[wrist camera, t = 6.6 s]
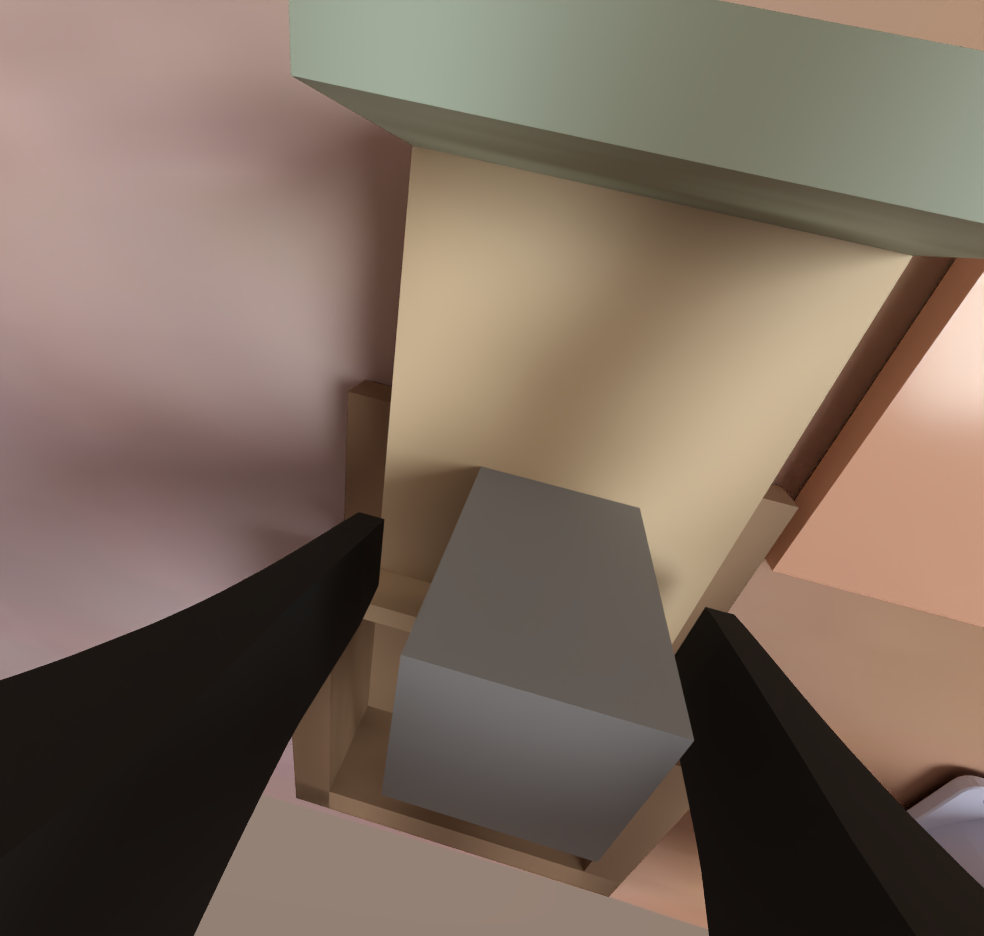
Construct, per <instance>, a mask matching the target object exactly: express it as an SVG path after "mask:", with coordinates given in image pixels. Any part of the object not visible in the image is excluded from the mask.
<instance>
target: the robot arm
mask: <svg viewBox="0 0 984 936" xmlns="http://www.w3.org/2000/svg"><path fill="white" fill-rule="evenodd" d="M384 520H385V519H382V518H379V517H375V516H371V515H368V514H364V513H361V512H358V513H356V514H355V515H353V516H351V517H349V518H348V519H346V520H345V521H343V522H341V523H340V524H338V525H337V526H335V527H333V528H332V529H330V530H329V531H327V532H325V533H324V534H322V535H321V536H319V537H317V538H316V539H314V540H312V541H311V542H309V543H308V544H306V545H304V546H303V547H301V548H299V549H298V550H296V551H294V552H292V553H291V554H289V555H287V556H286V557H284V558H282V559H281V560H279V561H277V562H275V563H274V564H272V565H270V566H268V567H267V568H265V569H263V570H261V571H259V572H257V573H256V574H254V575H252V576H250V577H248V578H246V579H244V580H243V581H241V582H239V583H237V584H235V585H233V586H231V587H229V588H228V589H226V590H224V591H222V592H220V593H218V594H216V595H214V596H212V597H210V598H208V599H206V600H204V601H202V602H199V603H197V604H195V605H193V606H191V607H189V608H187V609H184V610H182V611H180V612H178V613H176V614H173V615H171V616H169V617H167V618H164V619H162V620H160V621H158V622H155V623H153V624H151V625H148V626H146V627H143V628H141V629H138V630H136V631H133V632H131V633H128V634H126V635H123V636H120V637H118V638H115V639H113V640H110V641H108V642H105V643H103V644H100V645H97V646H95V647H92V648H90V649H87V650H85V651H82V652H80V653H77V654H75V655H72V656H69V657H66V658H64V659H61V660H58V661H55V662H52V663H50V664H47V665H44V666H41V667H38V668H35V669H32V670H30V671H27V672H24V673H21V674H18V675H15V676H12V677H9V678H6V679H3V680H0V936H194V934H195V932H196V930H197V928H198V925H199V923H200V921H201V919H202V917H203V914H204V913H205V911H206V909H207V906H208V904H209V902H210V900H211V898H212V896H213V893H214V892H215V890H216V887H217V885H218V883H219V881H220V879H221V877H222V875H223V873H224V871H225V869H226V866H227V864H228V862H229V860H230V858H231V856H232V854H233V852H234V850H235V848H236V846H237V844H238V842H239V840H240V838H241V835H242V834H243V831H244V829H245V827H246V825H247V823H248V821H249V819H250V817H251V815H252V813H253V811H254V809H255V807H256V805H257V803H258V801H259V799H260V797H261V795H262V793H263V791H264V789H265V787H266V785H267V783H268V781H269V779H270V777H271V775H272V773H273V772H274V770H275V768H276V766H277V764H278V762H279V760H280V758H281V756H282V754H283V752H284V750H285V748H286V746H287V744H288V742H289V741H290V739H291V737H292V735H293V734H294V732H295V730H296V728H297V727H298V725H299V723H300V721H301V720H302V718H303V716H304V715H305V713H306V712H307V710H308V708H309V707H310V705H311V704H312V702H313V700H314V699H315V697H316V695H317V694H318V692H319V691H320V689H321V687H322V686H323V684H324V683H325V681H326V679H327V678H328V676H329V675H330V673H331V671H332V670H333V668H334V667H335V665H336V663H337V662H338V660H339V659H340V657H341V655H342V654H343V652H344V650H345V649H346V647H347V646H348V644H349V642H350V641H351V639H352V637H353V636H354V634H355V632H356V631H357V629H358V627H359V626H360V624H361V622H362V620H363V618H364V616H365V614H366V611H367V609H368V607H369V605H370V603H371V601H372V599H373V596H374V594H375V592H376V590H377V588H378V586H379V577H380V566H381V554H382V543H383V532H384ZM674 656H675V661H676V665H677V669H678V673H679V678H680V682H681V686H682V690H683V695H684V699H685V703H686V708H687V712H688V716H689V720H690V725H691V729H692V733H693V737H694V742H693V743H692V744H691V745H690V747H689V748H688V749H687V750H686V752H685V753H684V754H683V755H682V757H681V758H680V764H681V769H682V774H683V779H684V783H685V788H686V793H687V798H688V803H689V808H690V813H691V817H692V822H693V827H694V832H695V837H696V842H697V848H698V854H699V860H700V866H701V872H702V880H703V888H704V897H705V905H706V914H707V922H708V931H709V936H984V778H981V777H978V776H972V775H968V776H960V777H957V778H955V779H953V780H951V781H950V782H948V783H947V784H945V785H944V786H942V787H941V788H939V789H938V790H937V791H935V792H934V793H932V794H931V795H929V796H928V797H926V798H925V799H923V800H922V801H920V802H919V803H917V804H916V805H914V806H913V807H911V808H910V809H909V810H907V811H906V810H905V809H904V808H903V807H902V806H901V805H900V804H899V803H898V802H897V801H896V800H895V798H894V797H893V796H892V795H891V794H890V793H889V792H888V791H887V790H886V789H885V788H884V787H883V786H882V785H881V784H880V782H879V781H878V780H877V779H876V778H875V777H874V776H873V775H872V774H871V773H870V771H869V770H868V769H867V768H866V767H865V766H864V765H863V764H862V763H861V762H860V761H859V759H858V758H857V757H856V756H855V755H854V754H853V753H852V752H851V751H850V750H849V748H848V747H847V746H846V745H845V744H844V743H843V742H842V741H841V739H840V738H839V737H838V736H837V735H836V734H835V733H834V731H833V730H832V729H831V728H830V727H829V726H828V725H827V723H826V722H825V721H824V720H823V719H822V718H821V716H820V715H819V714H818V713H817V712H816V711H815V709H814V708H813V707H812V706H811V705H810V704H809V702H808V701H807V700H806V699H805V698H804V696H803V695H802V694H801V693H800V692H799V690H798V689H797V688H796V687H795V686H794V685H793V683H792V682H791V681H790V680H789V679H788V677H787V676H786V675H785V674H784V672H783V671H782V670H781V669H780V668H779V666H778V665H777V664H776V663H775V662H774V660H773V659H772V658H771V657H770V656H769V654H768V653H767V652H766V651H765V650H764V648H763V647H762V646H761V645H760V644H759V642H758V641H757V640H756V639H755V638H754V637H753V635H752V634H751V633H750V632H749V631H748V630H747V628H746V627H745V626H744V625H743V624H742V623H741V622H740V621H739V619H738V618H737V617H736V616H735V615H734V614H730V613H726V612H723V611H719V610H715V609H712V608H708V607H705V608H704V610H703V611H702V613H701V615H700V616H699V618H698V619H697V621H696V622H695V624H694V626H693V627H692V629H691V630H690V632H689V633H688V635H687V637H686V638H685V640H684V641H683V643H682V644H681V646H680V648H679V649H678V651H677V652H676V654H675V655H674Z"/></svg>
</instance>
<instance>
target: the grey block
mask: <svg viewBox="0 0 984 936" xmlns="http://www.w3.org/2000/svg"><path fill="white" fill-rule="evenodd" d="M693 742H694V737H693V733H692V729H691V725H690V720H689V716H688V712H687V708H686V703H685V699H684V695H683V690H682V686H681V682H680V678H679V673H678V669H677V665H676V661H675V656H674V652H673V648H672V643H671V639H670V635H669V631H668V626H667V622H666V618H665V614H664V609H663V605H662V601H661V597H660V592H659V588H658V584H657V579H656V575H655V571H654V567H653V562H652V558H651V554H650V550H649V545H648V541H647V537H646V532H645V528H644V524H643V520H642V515H641V511H640V508H638V507H634V506H630V505H627V504H623V503H619V502H615V501H611V500H608V499H604V498H600V497H596V496H592V495H589V494H585V493H581V492H577V491H573V490H570V489H566V488H562V487H558V486H554V485H550V484H547V483H543V482H539V481H535V480H531V479H528V478H524V477H520V476H516V475H512V474H509V473H505V472H501V471H497V470H493V469H490V468H486V467H482V466H481V468H480V470H479V472H478V475H477V477H476V480H475V482H474V484H473V487H472V489H471V491H470V494H469V496H468V498H467V501H466V503H465V505H464V508H463V510H462V512H461V515H460V517H459V519H458V522H457V524H456V526H455V529H454V531H453V533H452V536H451V538H450V541H449V543H448V545H447V548H446V550H445V552H444V555H443V557H442V559H441V562H440V564H439V566H438V569H437V571H436V573H435V576H434V578H433V580H432V583H431V585H430V587H429V590H428V592H427V594H426V597H425V599H424V602H423V604H422V606H421V609H420V611H419V613H418V616H417V618H416V620H415V623H414V625H413V627H412V630H411V632H410V634H409V637H408V639H407V641H406V644H405V646H404V648H403V651H402V653H401V657H400V664H399V671H398V678H397V686H396V693H395V700H394V707H393V714H392V721H391V728H390V736H389V743H388V750H387V757H386V764H385V771H384V779H383V786H382V793H381V795H384V796H387V797H390V798H393V799H397V800H400V801H403V802H406V803H409V804H412V805H416V806H419V807H422V808H425V809H428V810H432V811H435V812H438V813H441V814H444V815H448V816H451V817H454V818H457V819H460V820H464V821H467V822H470V823H473V824H476V825H480V826H483V827H486V828H489V829H492V830H495V831H499V832H502V833H505V834H508V835H511V836H515V837H518V838H521V839H524V840H527V841H531V842H534V843H537V844H540V845H543V846H547V847H550V848H553V849H556V850H559V851H562V852H566V853H569V854H572V855H575V856H578V857H582V858H585V859H588V860H591V861H594V862H598V861H599V860H600V858H601V857H602V856H603V855H604V853H605V852H606V851H607V850H608V848H609V847H610V846H611V845H612V843H613V842H614V841H615V840H616V838H617V837H618V836H619V835H620V833H621V832H622V831H623V830H624V828H625V827H626V826H627V825H628V823H629V822H630V821H631V819H632V818H633V817H634V816H635V814H636V813H637V812H638V811H639V809H640V808H641V807H642V806H643V804H644V803H645V802H646V801H647V799H648V798H649V797H650V796H651V794H652V793H653V792H654V791H655V789H656V788H657V787H658V786H659V784H660V783H661V782H662V781H663V779H664V778H665V777H666V775H667V774H668V773H669V772H670V770H671V769H672V768H673V767H674V765H675V764H676V763H677V762H678V760H679V759H680V758H681V757H682V755H683V754H684V753H685V752H686V750H687V749H688V748H689V747H690V745H691V744H692V743H693Z"/></svg>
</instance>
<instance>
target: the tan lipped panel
mask: <svg viewBox="0 0 984 936" xmlns="http://www.w3.org/2000/svg"><path fill="white" fill-rule="evenodd" d="M289 27H290V61H291V76H293V77H294V78H296V79H298V80H300V81H301V82H303V83H305V84H307V85H308V86H310V87H312V88H313V89H315V90H317V91H319V92H320V93H322V94H324V95H326V96H327V97H329V98H331V99H333V100H334V101H336V102H338V103H339V104H341V105H343V106H345V107H346V108H348V109H350V110H352V111H353V112H355V113H357V114H358V115H360V116H362V117H364V118H365V119H367V120H369V121H371V122H372V123H374V124H376V125H378V126H379V127H381V128H383V129H384V130H386V131H388V132H390V133H391V134H393V135H395V136H397V137H398V138H400V139H402V140H404V141H405V142H407V143H409V144H410V145H412V155H411V167H410V179H409V191H408V203H407V215H406V227H405V239H404V251H403V263H402V275H401V287H400V299H399V311H398V323H397V335H396V347H395V359H394V371H393V383H392V395H391V407H390V418H389V430H388V442H387V454H386V466H385V478H384V490H383V502H382V514H381V518H382V519H385V520H384V532H383V543H382V554H381V566H380V577H379V586H378V588H377V590H376V592H375V594H374V596H373V599H372V601H371V603H370V605H369V607H368V609H367V611H366V614H365V616H364V618H363V619H365V620H369V621H372V622H376V623H379V624H383V625H386V626H390V627H393V628H397V629H400V630H403V631H407V632H411V630H412V627H413V625H414V623H415V620H416V618H417V616H418V613H419V611H420V609H421V606H422V604H423V602H424V599H425V597H426V594H427V592H428V590H429V587H430V585H431V583H432V580H433V578H434V576H435V573H436V571H437V569H438V566H439V564H440V562H441V559H442V557H443V555H444V552H445V550H446V548H447V545H448V543H449V541H450V538H451V536H452V533H453V531H454V529H455V526H456V524H457V522H458V519H459V517H460V515H461V512H462V510H463V508H464V505H465V503H466V501H467V498H468V496H469V494H470V491H471V489H472V487H473V484H474V482H475V480H476V477H477V475H478V472H479V470H480V468H481V466H482V467H486V468H490V469H493V470H497V471H501V472H505V473H509V474H512V475H516V476H520V477H524V478H528V479H531V480H535V481H539V482H543V483H547V484H550V485H554V486H558V487H562V488H566V489H570V490H573V491H577V492H581V493H585V494H589V495H592V496H596V497H600V498H604V499H608V500H611V501H615V502H619V503H623V504H627V505H630V506H634V507H638V508H640V511H641V515H642V520H643V524H644V528H645V532H646V537H647V541H648V545H649V550H650V554H651V558H652V562H653V567H654V571H655V575H656V579H657V584H658V588H659V592H660V597H661V601H662V605H663V609H664V614H665V618H666V622H667V626H668V631H669V635H670V639H671V643H672V644H673V642H674V640H675V639H676V637H677V636H678V634H679V632H680V631H681V629H682V628H683V626H684V624H685V623H686V621H687V619H688V618H689V616H690V615H691V613H692V611H693V610H694V608H695V607H696V605H697V603H698V602H699V600H700V598H701V597H702V595H703V594H704V592H705V590H706V589H707V587H708V586H709V584H710V582H711V581H712V579H713V578H714V576H715V574H716V573H717V571H718V569H719V568H720V566H721V565H722V563H723V561H724V560H725V558H726V557H727V555H728V553H729V552H730V550H731V548H732V547H733V545H734V544H735V542H736V540H737V539H738V537H739V536H740V534H741V532H742V531H743V529H744V527H745V526H746V524H747V523H748V521H749V519H750V518H751V516H752V515H753V513H754V511H755V510H756V508H757V507H758V505H759V503H760V502H761V500H762V498H763V497H764V495H765V494H766V492H767V490H768V489H769V487H770V486H771V484H772V482H773V481H774V479H775V477H776V476H777V474H778V473H779V471H780V469H781V468H782V466H783V465H784V463H785V461H786V460H787V458H788V457H789V455H790V453H791V452H792V450H793V448H794V447H795V445H796V444H797V442H798V440H799V439H800V437H801V436H802V434H803V432H804V431H805V429H806V427H807V426H808V424H809V423H810V421H811V419H812V418H813V416H814V415H815V413H816V411H817V410H818V408H819V407H820V405H821V403H822V402H823V400H824V398H825V397H826V395H827V394H828V392H829V390H830V389H831V387H832V386H833V384H834V382H835V381H836V379H837V377H838V376H839V374H840V373H841V371H842V369H843V368H844V366H845V365H846V363H847V361H848V360H849V358H850V357H851V355H852V353H853V352H854V350H855V348H856V347H857V345H858V344H859V342H860V340H861V339H862V337H863V336H864V334H865V332H866V331H867V329H868V327H869V326H870V324H871V323H872V321H873V319H874V318H875V316H876V315H877V313H878V311H879V310H880V308H881V307H882V305H883V303H884V302H885V300H886V298H887V297H888V295H889V294H890V292H891V290H892V289H893V287H894V286H895V284H896V282H897V281H898V279H899V277H900V276H901V274H902V273H903V271H904V269H905V268H906V266H907V265H908V263H909V261H910V260H911V258H912V256H933V257H956V258H979V259H984V51H981V50H975V49H970V48H965V47H960V46H954V45H949V44H944V43H939V42H933V41H928V40H923V39H918V38H912V37H907V36H902V35H897V34H891V33H886V32H881V31H876V30H871V29H865V28H860V27H855V26H850V25H844V24H839V23H834V22H829V21H823V20H818V19H813V18H808V17H802V16H797V15H792V14H787V13H781V12H776V11H771V10H766V9H761V8H755V7H750V6H745V5H740V4H734V3H729V2H724V1H719V0H289Z"/></svg>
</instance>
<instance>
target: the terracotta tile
mask: <svg viewBox="0 0 984 936" xmlns="http://www.w3.org/2000/svg"><path fill="white" fill-rule="evenodd" d="M794 502H795V504H796V505H797V506H798V507H799V508H798V510H797V511H796V513H795V514H794V515H793V517H792V518H791V520H790V521H789V523H788V524H787V526H786V527H785V529H784V530H783V532H782V533H781V535H780V536H779V538H778V539H777V540H776V542H775V543H774V545H773V546H772V548H771V549H770V551H769V552H768V554H767V555H766V557H765V559H766V561H767V563H768V564H769V566H770V568H771V569H772V571H775V572H779V573H782V574H786V575H790V576H794V577H797V578H801V579H805V580H809V581H812V582H816V583H820V584H824V585H827V586H831V587H835V588H839V589H842V590H846V591H850V592H854V593H857V594H861V595H865V596H869V597H872V598H876V599H880V600H884V601H887V602H891V603H895V604H899V605H902V606H906V607H910V608H914V609H917V610H921V611H925V612H929V613H932V614H936V615H940V616H944V617H947V618H951V619H955V620H959V621H962V622H966V623H970V624H974V625H977V626H981V627H984V259H979V258H956V259H955V261H954V262H953V264H952V265H951V267H950V268H949V270H948V271H947V273H946V274H945V276H944V277H943V279H942V280H941V282H940V283H939V285H938V286H937V288H936V289H935V291H934V292H933V294H932V295H931V297H930V298H929V300H928V301H927V303H926V304H925V306H924V307H923V309H922V310H921V312H920V313H919V315H918V316H917V318H916V319H915V321H914V322H913V324H912V325H911V327H910V328H909V330H908V331H907V333H906V334H905V336H904V337H903V339H902V340H901V342H900V343H899V345H898V346H897V348H896V349H895V351H894V352H893V354H892V355H891V357H890V358H889V360H888V361H887V363H886V364H885V366H884V367H883V369H882V370H881V372H880V373H879V375H878V376H877V378H876V379H875V381H874V382H873V384H872V385H871V387H870V388H869V390H868V391H867V393H866V394H865V396H864V397H863V399H862V400H861V402H860V403H859V405H858V406H857V408H856V409H855V411H854V412H853V414H852V415H851V417H850V418H849V420H848V421H847V423H846V424H845V426H844V427H843V429H842V430H841V432H840V433H839V435H838V436H837V438H836V439H835V441H834V442H833V444H832V445H831V447H830V448H829V450H828V451H827V453H826V454H825V456H824V457H823V459H822V460H821V462H820V463H819V465H818V466H817V468H816V469H815V471H814V472H813V474H812V475H811V477H810V478H809V480H808V481H807V483H806V484H805V486H804V487H803V489H802V490H801V492H800V493H799V495H798V496H797V498H796V499H795V501H794Z"/></svg>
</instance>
